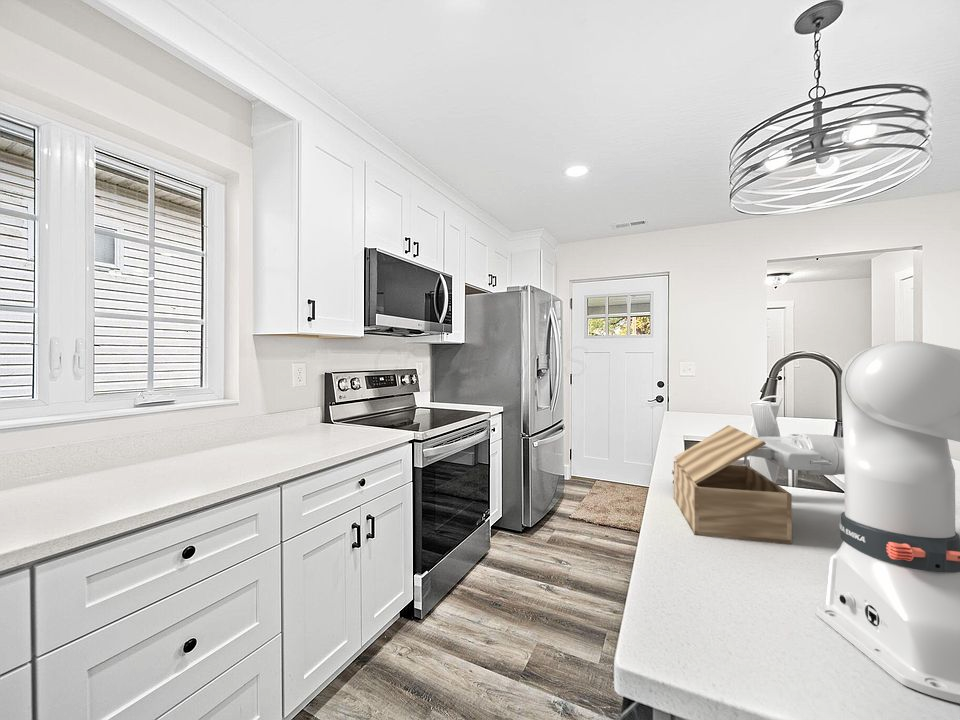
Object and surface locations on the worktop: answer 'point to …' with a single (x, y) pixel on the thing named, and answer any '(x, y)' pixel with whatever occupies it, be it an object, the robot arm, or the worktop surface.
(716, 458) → the lid flap
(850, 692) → the worktop surface
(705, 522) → the wooden box
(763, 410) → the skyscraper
